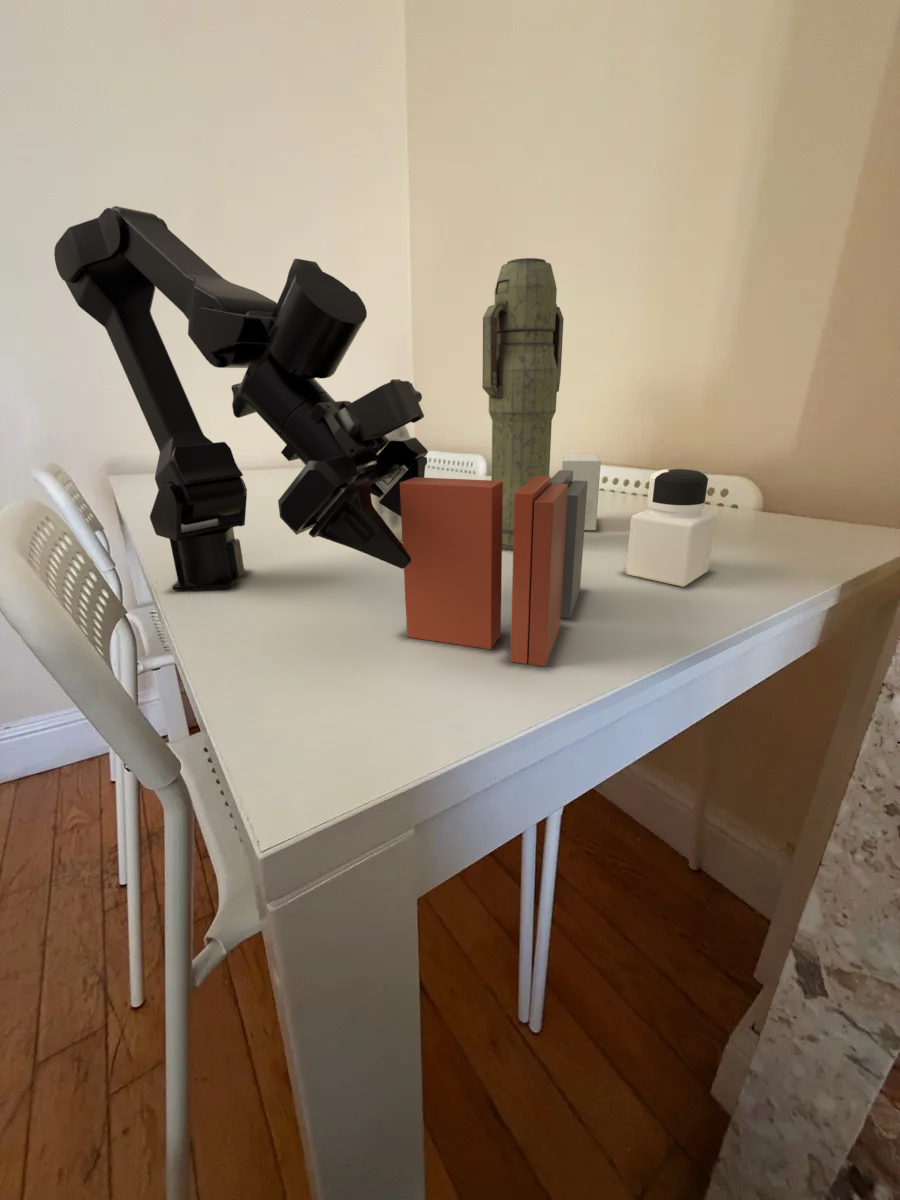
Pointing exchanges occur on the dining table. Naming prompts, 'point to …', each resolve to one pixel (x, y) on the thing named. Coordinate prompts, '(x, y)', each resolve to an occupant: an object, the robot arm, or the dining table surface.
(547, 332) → the olive green military canister
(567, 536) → the grey books
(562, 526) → the rust books
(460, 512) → the rust book
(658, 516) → the medicine bottle
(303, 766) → the dining table surface
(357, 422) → the robot arm
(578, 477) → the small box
